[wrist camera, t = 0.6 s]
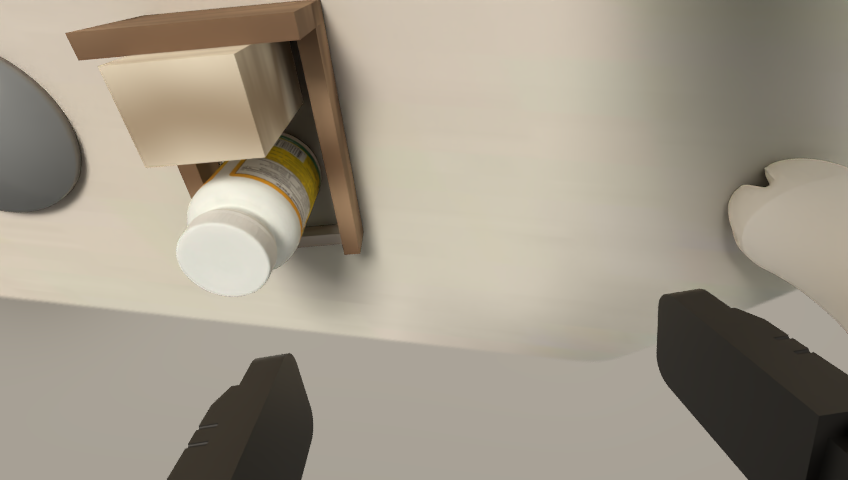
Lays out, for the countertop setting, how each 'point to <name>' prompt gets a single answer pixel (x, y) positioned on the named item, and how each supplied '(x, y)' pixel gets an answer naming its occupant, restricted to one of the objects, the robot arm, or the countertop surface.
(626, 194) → the countertop surface
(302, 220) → the supplement bottle
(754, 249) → the water bottle
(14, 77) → the coaster
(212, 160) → the rack
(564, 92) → the countertop surface
